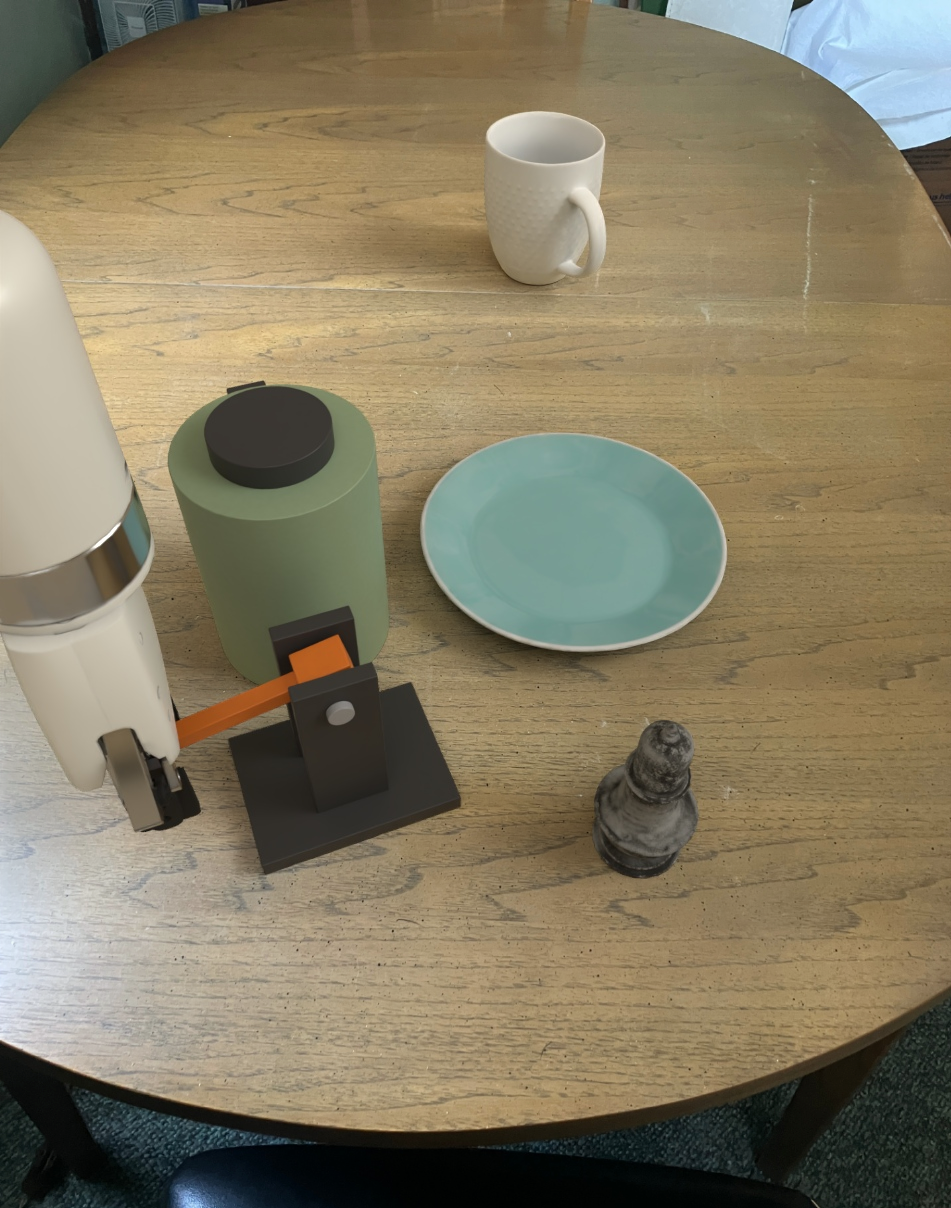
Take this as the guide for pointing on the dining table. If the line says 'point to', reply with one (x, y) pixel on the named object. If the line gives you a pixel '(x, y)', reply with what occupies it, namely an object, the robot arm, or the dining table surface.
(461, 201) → the dining table surface
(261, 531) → the green canister
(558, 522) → the plate
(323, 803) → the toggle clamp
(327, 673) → the orange pivot lever
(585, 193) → the mug
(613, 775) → the chess piece
